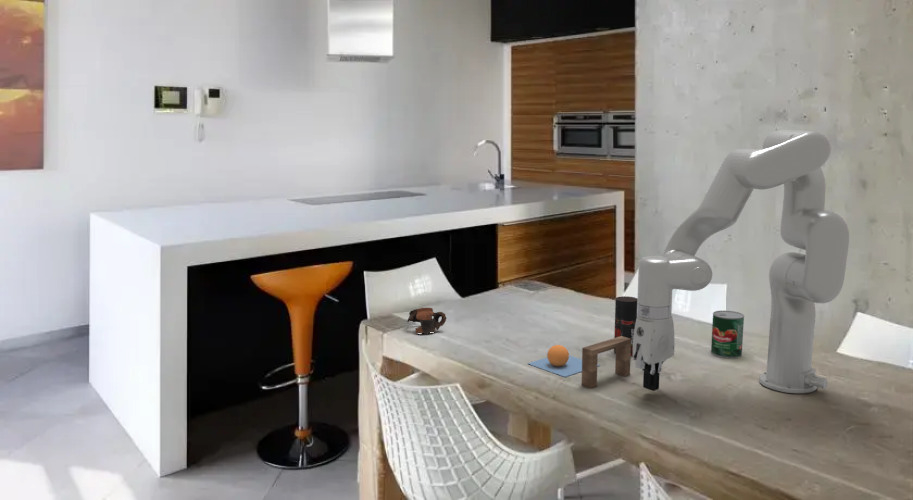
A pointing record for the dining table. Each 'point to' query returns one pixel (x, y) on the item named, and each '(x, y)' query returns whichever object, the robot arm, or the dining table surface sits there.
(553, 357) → the ball
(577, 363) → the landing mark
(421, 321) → the pottery mug
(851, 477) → the dining table surface
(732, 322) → the canned tomato
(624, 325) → the deodorant
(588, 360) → the bridge
